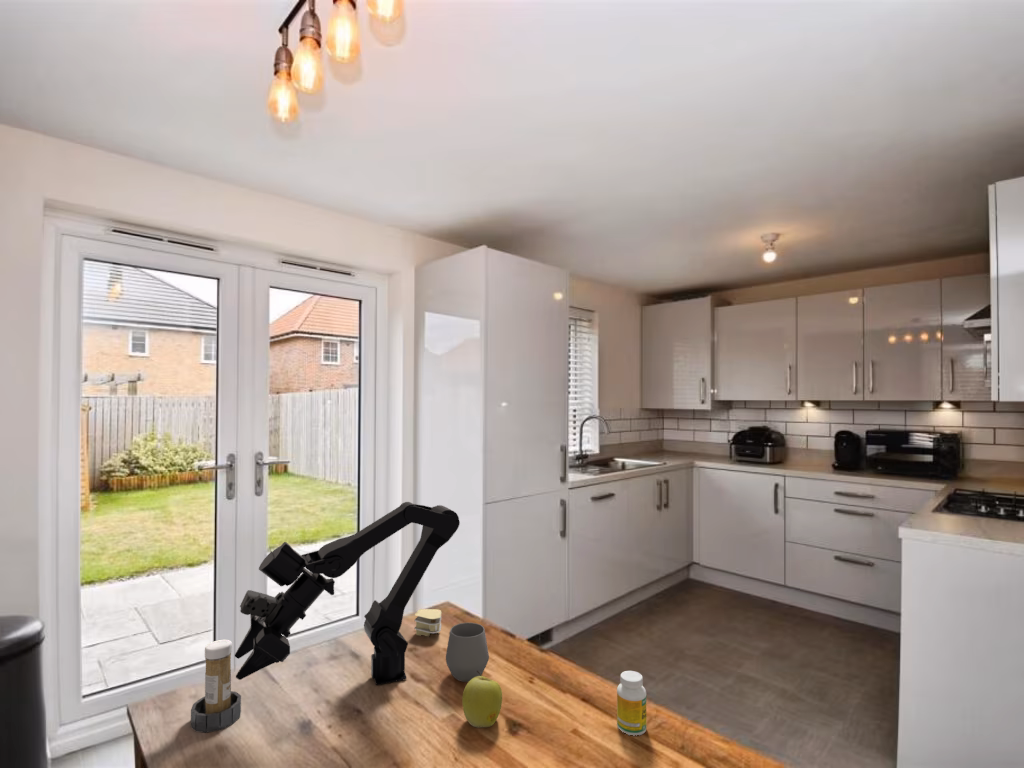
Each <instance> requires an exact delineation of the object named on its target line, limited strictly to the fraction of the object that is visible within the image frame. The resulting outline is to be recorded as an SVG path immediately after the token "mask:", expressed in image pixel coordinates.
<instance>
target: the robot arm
mask: <svg viewBox="0 0 1024 768" xmlns="http://www.w3.org/2000/svg"><path fill="white" fill-rule="evenodd" d="M410 524H417V525H421V526H422V527H421V534H420V538H419V540H418V542H417V544H416V546H415V548H414V550H413V551H412V553H411V555H410V556H409V558H408V560H407V562H406V563H405V565H404V566H403V569H402V570H401V572H400V574H399V576H397V578H396V580H395V582H394V584H393V586H392V587H391V589H390V591H389V592H388V595H386V597H385V598H384V599H382V600H381V601H380V602H378V601H377V600H376V599H375V600H373V601H372V603H371V607H370V608H369V610H368V612H367V613H366V614H364V618H365V620H364V622H363V623H364V624H363V628H364V629H363V630H364V632H365V634H366V636H367V637H368V639H369V640H370V642H371V644H372V645H373V654H371V656H370V659H371V660H370V662H371V663H370V664H371V665H370V670H371V672H370V674H371V677H372V679H373V680H374V683H375V685H377V686H379V685H380V686H381V685H385V684H391V683H396V682H401V681H405V680H407V674H406V672H405V671H406V666H405V664H406V659H405V658H406V655H405V654H406V651H407V649H408V645H409V643H408V641H407V640H406V639H405V637H404V635H402V633H401V632H400V630H401V627H402V623H403V618H404V613H405V609H406V607H407V605H408V603H409V601H410V599H411V598H412V596H413V594H414V593H415V591H416V589H417V588H418V585H419V584H420V582H421V580H422V579H423V577H424V574H425V573H426V571H427V569H428V567H429V566H430V564H431V562H432V560H433V559H434V557H435V555H436V554H437V552H438V551H439V549H440V548H442V547H443V546H444V545H445V544H446V543H448V542H449V541H450V539H451V538H452V537H453V536H454V535H455V533H456V532H457V531H458V529H459V527H460V524H461V523H460V517H459V515H458V513H456V511H454V510H452V509H451V508H448V507H447V506H445V505H441V504H439V505H435V506H432V507H431V506H428V505H423V504H417V503H412V502H410V501H405V502H403V503H400V505H399V506H398V507H395V508H394V509H393V510H392V511H390V512H388V513H387V514H384V515H383V516H381V517H380V518H378V519H377V520H375V521H373V522H372V523H371V524H369V525H367V526H366V527H364V528H362V529H361V530H359V531H357V532H356V533H353V534H351V535H349V536H346V537H341V538H338V539H336V540H334V541H330V542H327V543H326V544H324V545H323V546H322V547H320V548H319V549H318V550H315V551H311V552H307V553H304V554H300V553H298V552H297V551H296V550H295V549H293V548H292V546H291V544H289V543H288V542H286V541H284V542H283V543H282V544H281V545H280V546H277V547H276V548H275V549H273V550H272V551H270V552H269V553H268V554H267V555H266V556H265V557H264V559H263V560H262V562H260V565H259V566H258V571H259V572H261V573H262V574H264V575H265V576H267V578H269V579H271V580H272V582H275V583H276V584H277V585H278V586H280V587H284V586H286V587H288V586H289V587H288V588H287V589H286V590H285V592H283V591H281V592H278V593H277V594H276V595H275V596H272V595H269V594H267V593H262V592H260V591H255V590H252V589H251V590H250V589H249V590H248V589H247V591H246V593H245V594H244V596H243V599H242V601H241V603H240V606H239V607H240V610H239V611H240V613H241V614H243V615H246V616H249V615H250V626H249V629H248V631H247V632H246V634H245V636H244V637H243V640H242V641H241V643H240V644H239V647H238V648H237V649H236V652H235V653H234V657H235V658H236V659H240V658H242V657H244V656H245V655H247V654H248V653H250V654H249V655H248V657H247V658H246V660H245V661H244V663H242V666H241V667H240V669H239V670H238V672H237V673H236V674H235V678H236V679H237V680H239V681H240V680H243V679H245V678H247V677H248V676H251V675H252V674H255V673H257V672H258V671H260V670H262V669H264V668H266V667H269V666H270V665H273V664H275V663H276V664H278V663H279V662H280V663H283V662H284V661H285V660H286V659H287V658H288V657H289V656H290V654H291V645H290V642H289V641H290V640H289V639H288V637H289V636H290V635H291V628H292V627H293V626H294V625H295V624H296V623H297V622H298V621H299V620H301V621H303V620H304V619H305V618H306V616H307V614H306V611H307V610H308V609H309V608H310V607H311V606H312V605H313V604H314V603H315V601H317V599H318V598H319V597H320V596H321V594H322V593H323V592H324V591H325V592H326V593H328V594H329V595H330V596H334V595H335V579H338V578H339V577H342V576H343V575H344V574H345V573H346V572H348V571H349V570H350V569H351V568H352V567H353V566H354V565H355V564H356V563H358V561H359V559H360V558H361V557H362V556H363V555H364V554H365V553H366V552H367V551H369V550H371V549H372V548H374V547H375V546H377V545H379V544H380V543H382V542H383V541H385V540H387V539H388V538H390V537H391V536H392V535H395V533H398V532H399V531H400V530H402V529H403V528H406V527H407V526H408V525H410ZM323 575H324V576H325V577H324V576H323ZM326 577H327V578H326ZM251 651H252V652H251Z"/></svg>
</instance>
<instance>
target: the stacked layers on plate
mask: <svg viewBox="0 0 1024 768" xmlns="http://www.w3.org/2000/svg"><path fill="white" fill-rule="evenodd" d="M414 616H417V617H416V618H415V619H414V622H415V626H414V630H415V635H416V636H421V635H425V636H424V637H430V634H437V633H438V634H440V633H439V632H441V631H442V610H440V609H434V608H432V609H431V608H430V609H427V608H425V609H424V608H420V609H418V611H416V613H414Z"/></svg>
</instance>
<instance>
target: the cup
mask: <svg viewBox="0 0 1024 768" xmlns="http://www.w3.org/2000/svg"><path fill="white" fill-rule="evenodd" d="M487 643H488V642H487V635H486V629H485V627H484V626H483V625H482V624H480V623H476V622H461V623H458V624H455V625H453V626H452V627H451V628H450V630H449V633H448V639H447V647H446V652H445V662H446V666H447V668H448V670H449V671H450V674H451V676H452V677H453V679H455V680H456V681H459V682H464V683H465V682H466V683H468V682H469V681H470V680H471V679H472V678H474V677H477V676H483V672H484V671H485V669H486V667H487V665H488V663H489V660H490V654H489V648H488V644H487ZM477 671H478V672H479V673H480V674H479V673H478V672H477Z"/></svg>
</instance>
